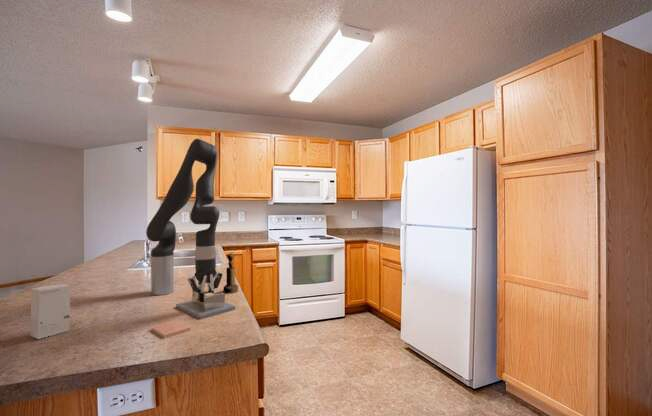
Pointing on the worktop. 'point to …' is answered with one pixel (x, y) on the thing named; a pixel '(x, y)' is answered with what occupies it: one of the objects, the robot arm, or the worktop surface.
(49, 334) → the skincare box
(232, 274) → the dark brown tall piece
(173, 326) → the tile
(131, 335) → the worktop surface
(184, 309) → the board
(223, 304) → the beige rectangular block
